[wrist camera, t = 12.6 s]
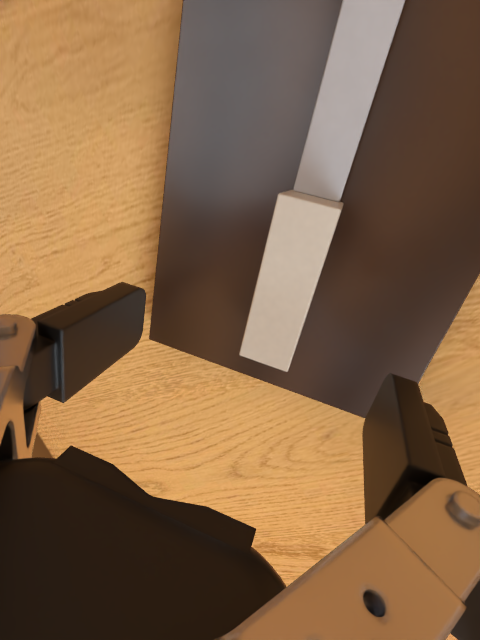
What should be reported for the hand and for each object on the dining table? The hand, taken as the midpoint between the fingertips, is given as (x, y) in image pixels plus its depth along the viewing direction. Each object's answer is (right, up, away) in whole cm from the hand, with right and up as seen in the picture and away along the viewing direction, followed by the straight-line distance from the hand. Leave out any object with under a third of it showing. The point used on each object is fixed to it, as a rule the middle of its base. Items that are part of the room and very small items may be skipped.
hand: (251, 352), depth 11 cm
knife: (+3, +8, +5) cm, 10 cm away
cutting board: (+4, +8, +6) cm, 11 cm away
